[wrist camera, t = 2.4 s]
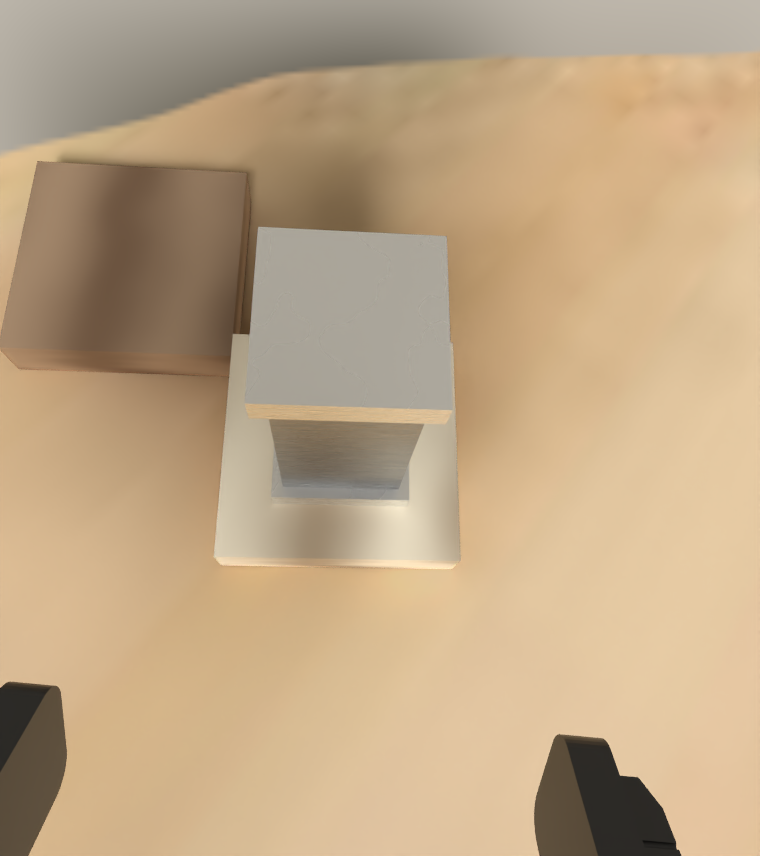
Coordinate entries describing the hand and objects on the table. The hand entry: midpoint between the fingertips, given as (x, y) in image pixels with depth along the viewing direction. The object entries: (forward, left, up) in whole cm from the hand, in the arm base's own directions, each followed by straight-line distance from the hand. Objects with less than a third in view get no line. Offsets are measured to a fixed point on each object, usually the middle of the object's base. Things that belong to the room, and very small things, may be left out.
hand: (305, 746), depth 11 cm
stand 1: (+8, -18, -15) cm, 25 cm away
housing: (-1, -10, -13) cm, 16 cm away
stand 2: (-1, -10, -15) cm, 18 cm away
